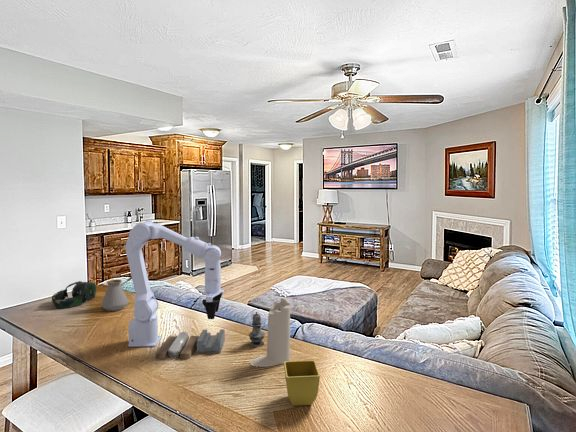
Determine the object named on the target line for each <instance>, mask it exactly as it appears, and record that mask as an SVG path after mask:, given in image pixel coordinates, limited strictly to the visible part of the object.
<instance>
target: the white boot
mask: <svg viewBox="0 0 576 432" xmlns="http://www.w3.org/2000/svg"><path fill="white" fill-rule="evenodd" d="M267 315H268V318H267V336H266V337H267V338H266V339H267V340H266V355H262V356H259V357H255V358H254V359H253V360H249V361H248V362H247V363H248V364H249V363H251V365H252V364H253V366H256V367H255V368H258V366H259V367H263V368H266V367H273V366H280V365H284V362H285V361H291V302H290V301H289V300H288V298H285V297H280V301H276V302H275V304H274V305H271V306H270V307H269V311H268V314H267Z"/></svg>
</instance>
